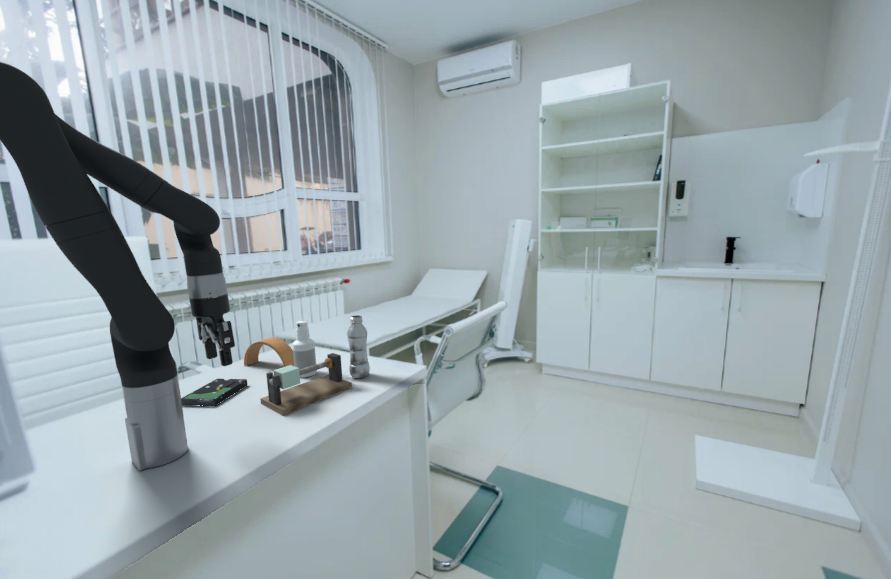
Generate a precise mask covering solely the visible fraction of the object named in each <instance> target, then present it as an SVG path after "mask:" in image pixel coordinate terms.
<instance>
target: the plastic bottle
mask: <svg viewBox="0 0 891 579" xmlns="http://www.w3.org/2000/svg"><path fill="white" fill-rule="evenodd" d="M363 322H364V320H363V316H362V315H351V316H350V326H349V327H348V329H347V332H346V336H347V341H348V346H349V347H348V348H349V354H350V355H349V357H350V359H349V371H348V372H349V375H350V376H351V377H352V378H354V379H362V378H365V377H367V376H369V374H370V370H371V367H370V362H369V358H368V350H367V347H368V346H367V342H368V330H367V328H366V327H365V326H364V324H363Z"/></svg>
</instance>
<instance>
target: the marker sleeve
mask: <svg viewBox="0 0 891 579" xmlns="http://www.w3.org/2000/svg"><path fill="white" fill-rule="evenodd" d="M272 371H273V375H276V374H277V375H279V376H280V381H281V382H280V390H281V389H282V390H286V389H289V388H291V387H294V386H297V385H300V384H301V377H300V374H299V368H297V367H294V366H292V365H289V366H286V367H284V366H283V367H280V368H277V369H273V370H272Z"/></svg>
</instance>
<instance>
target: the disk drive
mask: <svg viewBox="0 0 891 579" xmlns="http://www.w3.org/2000/svg"><path fill="white" fill-rule="evenodd" d="M247 385H248V380H247V379H246V378H229V379H225V378H216V379H213V380H212V381H210V382H209V383H207V384H205V385H203V386H201V387H199V388H198V389H195V390H194V391H192V392H191V393H188V394H187V395H185V396H183V397H181V402H182V405H200V406H199V407H206V406H215V407H217V406H218V405H219V404H218V403H220V402H222V401H223V400H224V401H226V400H227V399H226V398H228V397H229V398H231V397H232V396H234V395H235V394H237V393H238V392H240V391H241V390H240V389H242V388H243V389H245V388H246V387H248V386H247ZM245 386H246V387H245ZM244 387H245V388H244ZM243 389H242V390H243ZM239 390H240V391H239ZM236 392H237V393H236ZM234 393H235V394H234ZM233 394H234V395H233ZM231 395H232V396H231ZM230 396H231V397H230ZM229 398H228V399H229ZM225 399H226V400H225ZM224 401H223V402H224ZM223 402H222V403H223ZM217 404H218V405H217ZM220 404H221V403H220ZM202 405H203V406H202ZM216 405H217V406H216Z"/></svg>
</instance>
